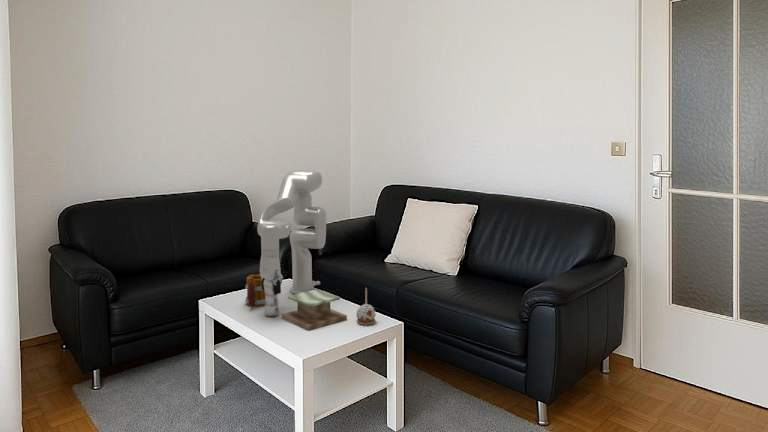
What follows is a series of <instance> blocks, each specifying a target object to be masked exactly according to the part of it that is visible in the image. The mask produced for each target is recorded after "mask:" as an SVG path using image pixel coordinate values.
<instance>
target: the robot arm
mask: <svg viewBox="0 0 768 432" xmlns="http://www.w3.org/2000/svg"><path fill="white" fill-rule="evenodd" d="M322 182H323V176H322V174H321V172H319V171H316V170H291V171H288V172H287V173H286V175H284V176H283V178H282V180H281V184H280V187H279V189H278V190H279V191H278V193H277V196H276V199H275V200H274V201H272V203H270V204H269V205H268V206H267V207H265V208H264V209H263V211H262V212H261V214H260V217H259V220H258V223H257V235H259V236H260V245H261V246H260V247H261V251H260V252H261V255H260V261H259V271H258V272H259V275H260V276H261V280H262V290H264V285H263V282H264V280H265V279H267V280H270V281H272V280H273V282H274V294H278V295H280V294H281V293H282V288H281V286H282V283H283V279H284V276H283V274H282V273H281V272H282V271H281V261H280V240H281V239H283V240H284V239H286V238H288V237H289V242H290V246H291V247H290V248H291V262H292V263H291V265H292V267H291V268H292V287H290V288H289V292H290V293H291V294H292V295H295V294H299V293H303V292H308V291H312V290H316V287H315V286H320V285H321V281H320V280H317V281H315V280H313V277H312V276H313V273H312V272H313V269H312V268H313V267H312V263H313V262H312V254H311V252H310V250H309V249H315V250H316V249H318V250H319V249H323V248H324V247H325V244H326V240H327V213H326V210H325V209H324V208H323V207H320V206H313V205H312V204H313V203H312V202H313V201H312V199H313V198H312V194H311V193H312V192H314V191H316V190H318V189H320V188H321V186H322ZM292 209H293V221H294V224H295V225H297V226H304V227H314V228H302V227H301V228H300V227H299V228H294V229H292V231H291V225H290V223H288V222H287V221H284V220H283V221H279V220H271V219H273V218H274V217H275V216H277V215H279V214H282V213H284V212H287V211H290V210H292ZM276 280H277V282H276Z"/></svg>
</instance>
